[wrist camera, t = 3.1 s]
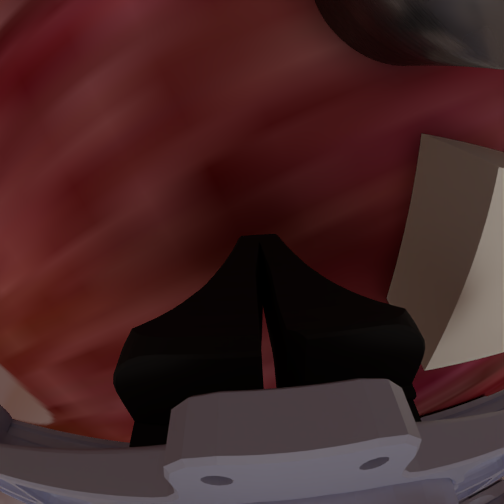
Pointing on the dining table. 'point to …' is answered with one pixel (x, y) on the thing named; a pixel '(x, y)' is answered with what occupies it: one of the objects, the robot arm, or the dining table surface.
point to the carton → (454, 252)
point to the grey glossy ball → (421, 30)
